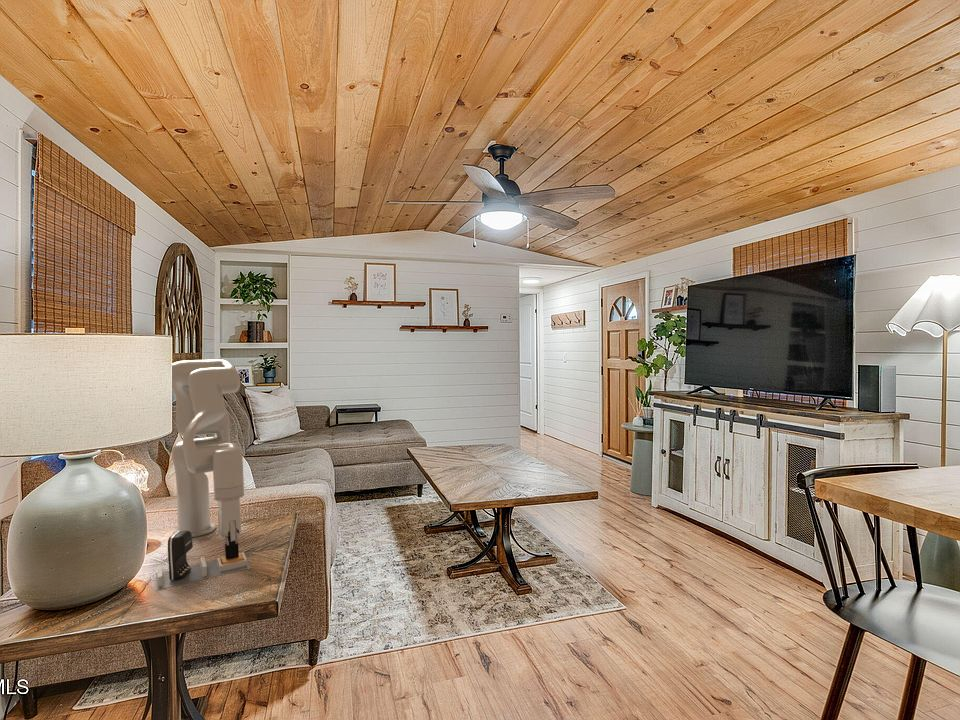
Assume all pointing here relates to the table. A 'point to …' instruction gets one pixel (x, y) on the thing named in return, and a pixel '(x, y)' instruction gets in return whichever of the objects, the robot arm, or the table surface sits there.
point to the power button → (225, 561)
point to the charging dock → (201, 572)
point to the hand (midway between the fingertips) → (232, 557)
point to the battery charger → (179, 554)
